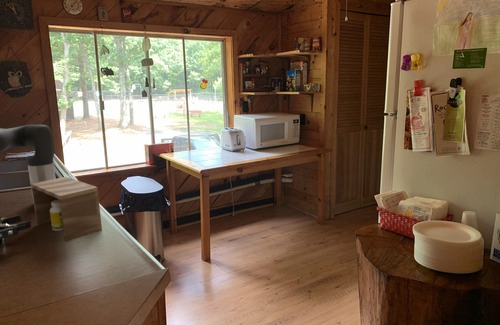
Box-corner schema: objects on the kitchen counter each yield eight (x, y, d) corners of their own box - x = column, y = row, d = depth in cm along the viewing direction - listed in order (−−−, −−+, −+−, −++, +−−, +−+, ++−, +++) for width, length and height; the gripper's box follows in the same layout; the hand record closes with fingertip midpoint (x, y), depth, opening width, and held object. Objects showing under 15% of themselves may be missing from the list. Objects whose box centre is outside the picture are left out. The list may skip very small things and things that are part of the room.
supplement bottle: (62, 231, 121) (58, 204, 119) (48, 230, 123) (44, 203, 120) (73, 225, 127) (69, 199, 125) (59, 224, 128) (56, 198, 126)
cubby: (37, 224, 128) (30, 183, 124) (70, 215, 137) (65, 176, 134) (66, 241, 114) (60, 196, 110) (102, 229, 123) (97, 187, 119)
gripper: (-33, 231, 98) (32, 214, 110) (-46, 219, 107) (15, 205, 119) (-28, 256, 100) (35, 237, 112) (-41, 243, 108) (18, 226, 121)
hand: (25, 220), depth 115 cm, fingers open, 8 cm apart
